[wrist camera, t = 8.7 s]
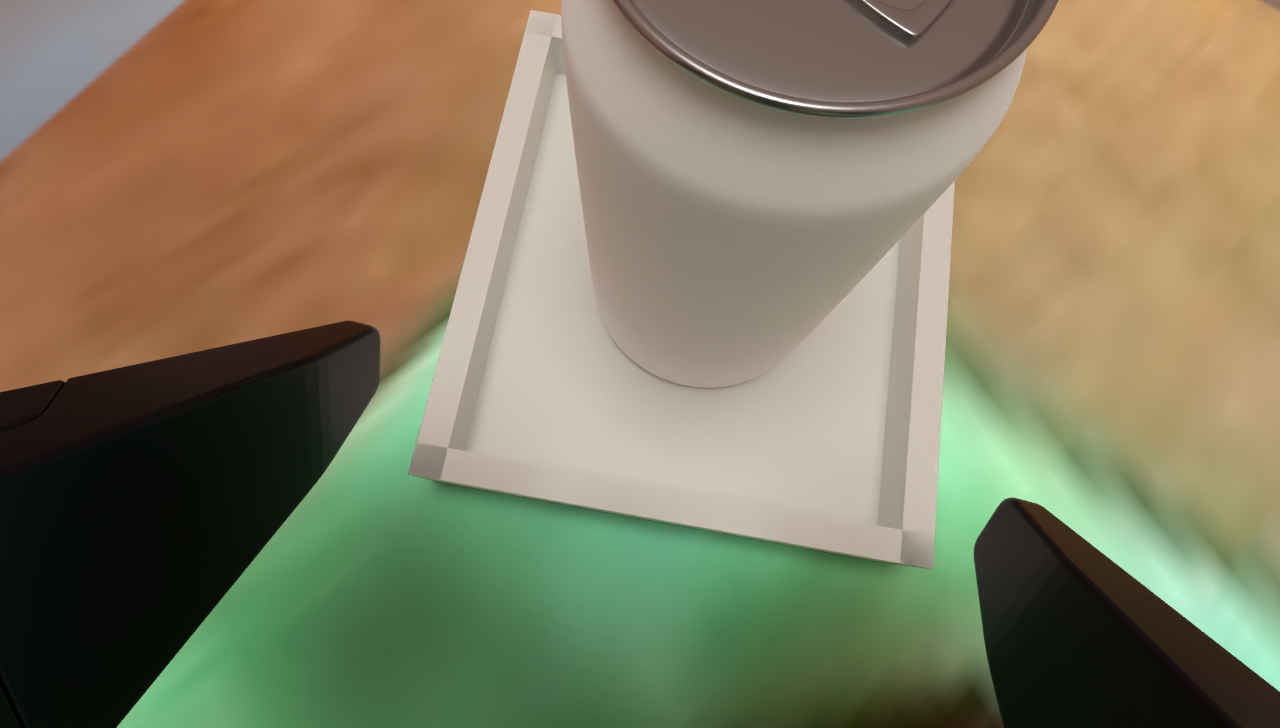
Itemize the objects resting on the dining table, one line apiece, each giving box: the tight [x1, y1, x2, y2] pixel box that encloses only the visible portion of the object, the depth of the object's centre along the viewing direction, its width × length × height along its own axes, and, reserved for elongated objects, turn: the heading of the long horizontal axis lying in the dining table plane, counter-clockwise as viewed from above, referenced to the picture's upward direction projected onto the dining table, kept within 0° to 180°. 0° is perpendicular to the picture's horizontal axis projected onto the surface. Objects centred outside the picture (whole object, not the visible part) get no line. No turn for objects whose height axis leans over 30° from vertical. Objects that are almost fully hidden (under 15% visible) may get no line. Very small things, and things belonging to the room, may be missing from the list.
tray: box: [408, 10, 955, 569], centre depth 18 cm, size 14×13×2 cm
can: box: [561, 0, 1058, 388], centre depth 13 cm, size 6×6×12 cm
